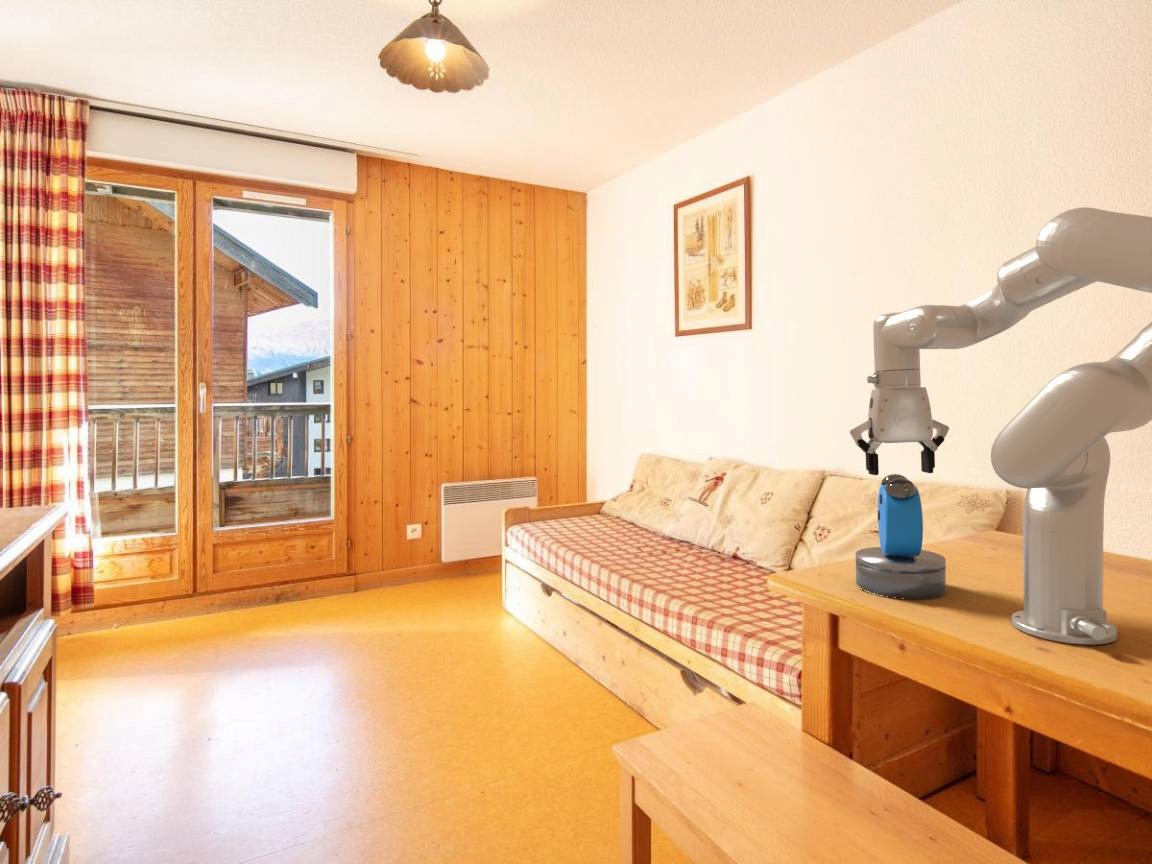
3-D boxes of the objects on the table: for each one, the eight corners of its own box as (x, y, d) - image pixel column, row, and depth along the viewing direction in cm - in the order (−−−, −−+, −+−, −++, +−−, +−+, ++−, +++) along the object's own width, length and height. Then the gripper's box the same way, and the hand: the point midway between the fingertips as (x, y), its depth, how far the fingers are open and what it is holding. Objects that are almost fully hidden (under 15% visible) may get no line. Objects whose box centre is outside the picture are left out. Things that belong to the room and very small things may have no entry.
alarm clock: (923, 565, 113) (922, 480, 112) (885, 563, 115) (883, 480, 114) (911, 548, 125) (910, 471, 125) (876, 547, 127) (875, 471, 127)
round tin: (962, 599, 112) (962, 565, 112) (874, 600, 114) (873, 566, 113) (922, 576, 127) (922, 546, 127) (844, 577, 128) (844, 547, 128)
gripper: (856, 382, 115) (859, 477, 116) (956, 377, 114) (959, 473, 115) (842, 384, 123) (845, 473, 123) (936, 379, 122) (938, 469, 122)
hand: (900, 473), depth 119 cm, fingers open, 9 cm apart
